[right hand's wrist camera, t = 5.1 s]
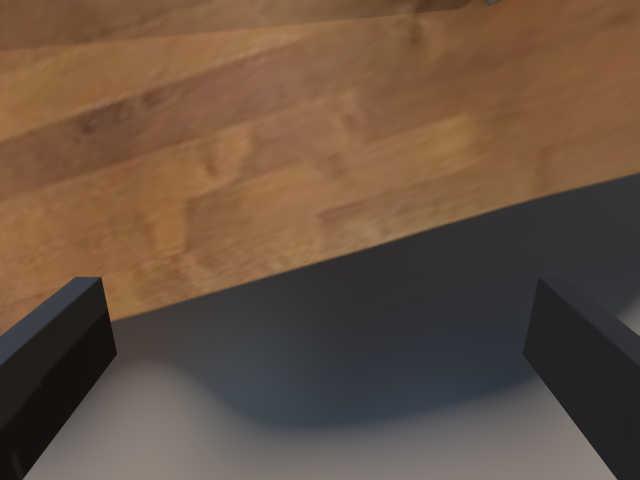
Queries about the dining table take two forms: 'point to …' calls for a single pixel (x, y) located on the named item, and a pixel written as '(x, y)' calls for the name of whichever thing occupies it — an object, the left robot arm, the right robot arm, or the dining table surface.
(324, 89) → the dining table surface
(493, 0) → the hard drive box
